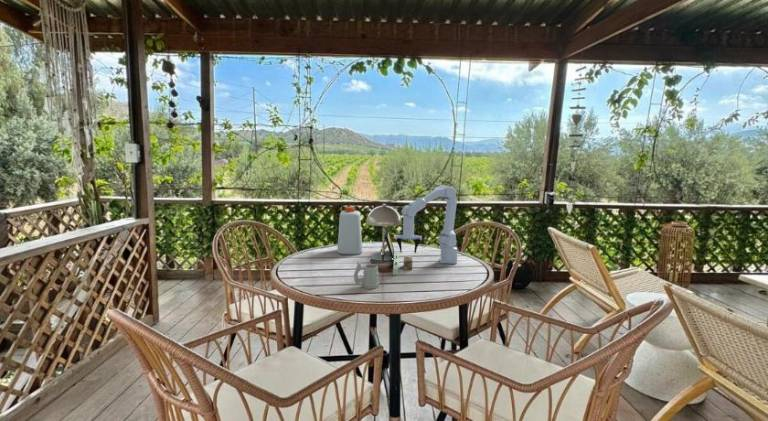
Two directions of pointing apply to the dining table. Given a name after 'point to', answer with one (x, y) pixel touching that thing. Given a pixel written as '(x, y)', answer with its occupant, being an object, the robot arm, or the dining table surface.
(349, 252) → the plastic bottle
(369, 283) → the mug
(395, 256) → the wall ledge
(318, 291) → the dining table surface
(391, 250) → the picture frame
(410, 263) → the frame block
